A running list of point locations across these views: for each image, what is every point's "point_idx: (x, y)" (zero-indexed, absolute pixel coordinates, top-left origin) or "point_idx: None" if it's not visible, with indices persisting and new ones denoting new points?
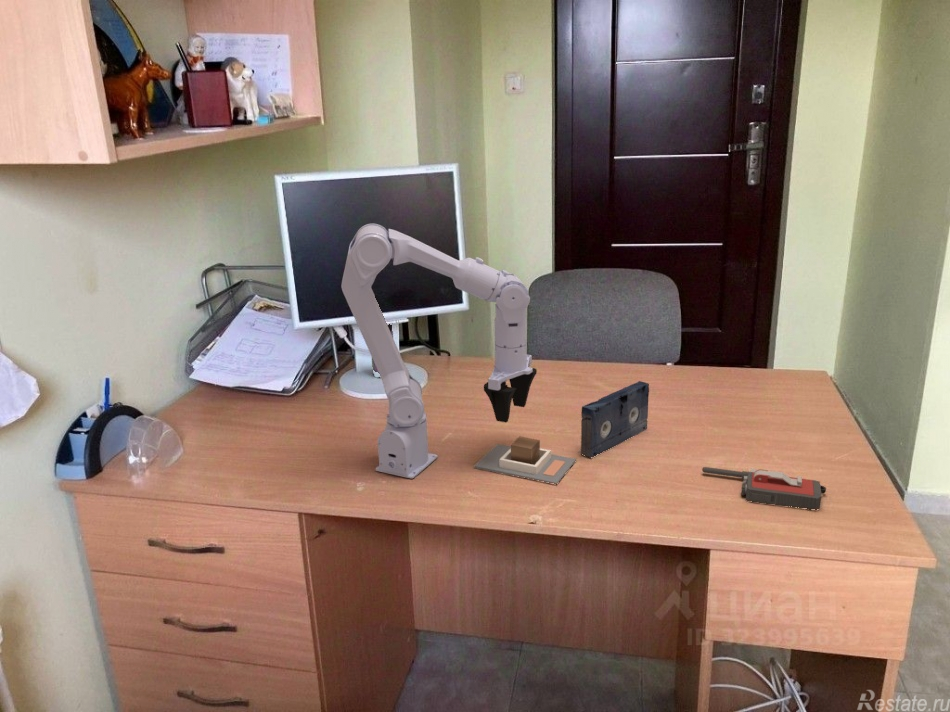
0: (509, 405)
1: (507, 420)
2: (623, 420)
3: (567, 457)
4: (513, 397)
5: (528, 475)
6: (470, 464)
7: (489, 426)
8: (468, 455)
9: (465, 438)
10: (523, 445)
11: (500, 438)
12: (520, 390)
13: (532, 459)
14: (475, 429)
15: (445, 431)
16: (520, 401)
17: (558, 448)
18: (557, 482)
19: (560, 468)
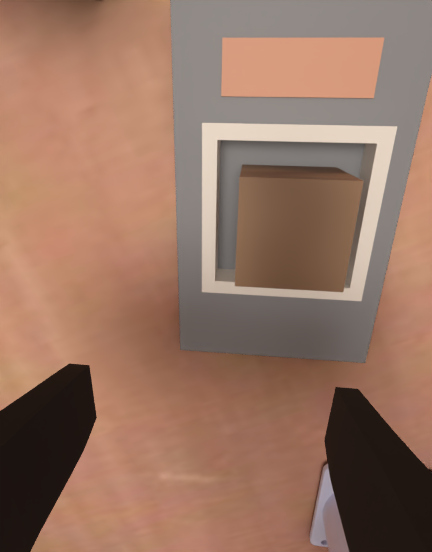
0: (422, 494)
1: (353, 393)
2: None
3: (173, 47)
4: (69, 465)
5: (400, 156)
6: (337, 374)
7: None
8: (278, 397)
9: (174, 436)
10: (332, 234)
11: (124, 353)
12: (21, 486)
13: (329, 171)
14: (106, 431)
15: (158, 488)
16: (75, 410)
17: (92, 133)
18: None
19: (292, 36)
